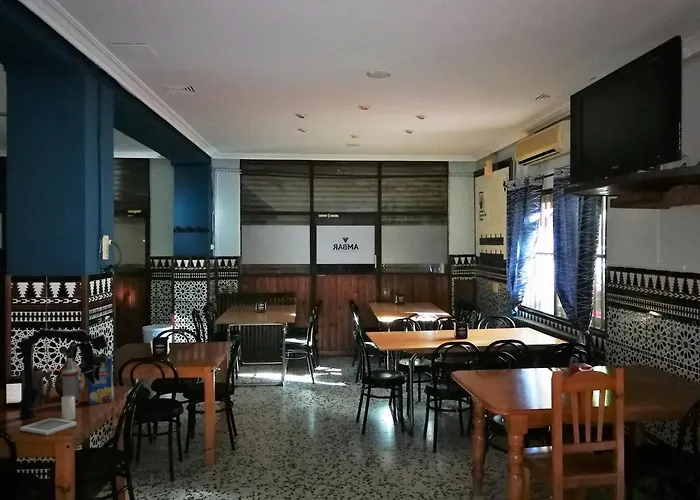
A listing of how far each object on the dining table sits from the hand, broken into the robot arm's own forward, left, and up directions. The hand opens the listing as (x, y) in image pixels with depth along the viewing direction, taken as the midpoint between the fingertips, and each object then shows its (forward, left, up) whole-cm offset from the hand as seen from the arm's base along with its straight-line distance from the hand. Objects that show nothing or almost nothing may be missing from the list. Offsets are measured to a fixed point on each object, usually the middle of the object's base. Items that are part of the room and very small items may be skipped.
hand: (96, 382), depth 305 cm
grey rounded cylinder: (-3, -15, -15) cm, 21 cm away
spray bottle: (-25, +4, -15) cm, 29 cm away
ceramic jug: (-39, +15, -15) cm, 44 cm away
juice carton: (-15, +15, -15) cm, 26 cm away
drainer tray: (+1, -29, -15) cm, 33 cm away
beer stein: (-41, -4, -15) cm, 43 cm away
